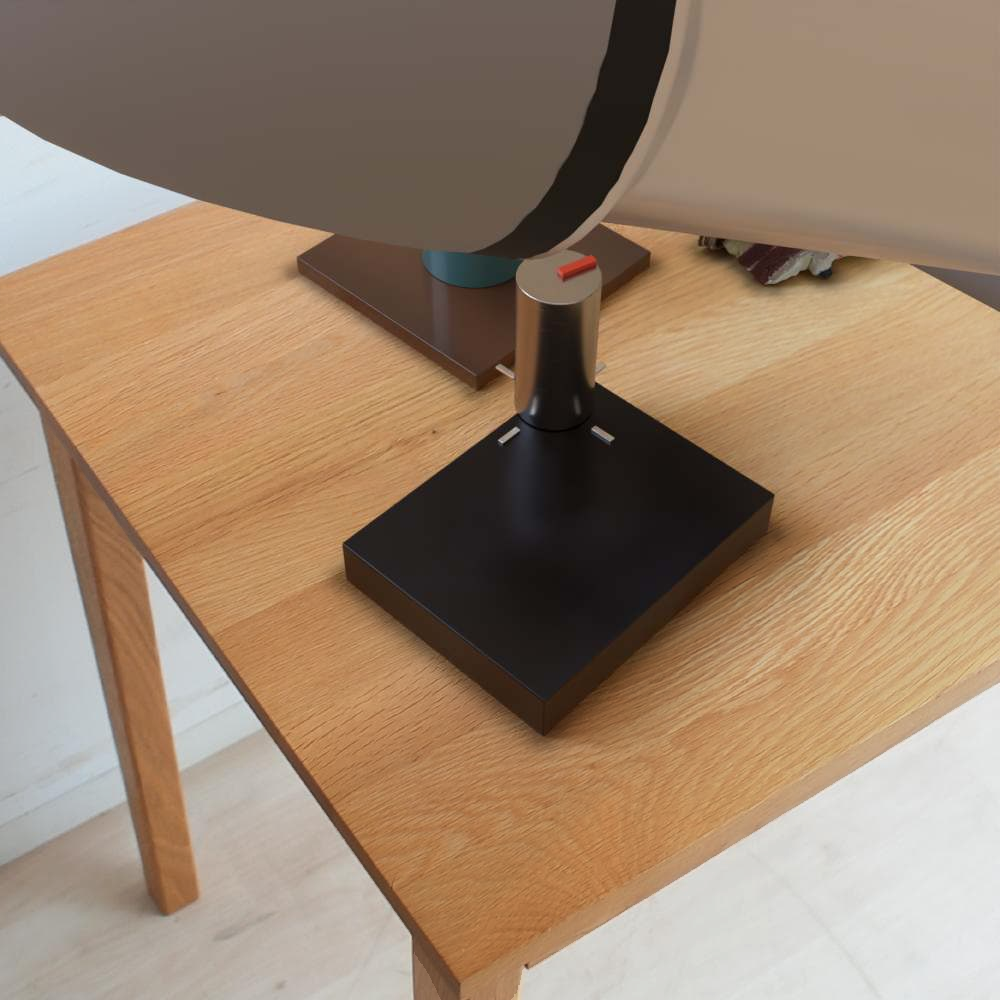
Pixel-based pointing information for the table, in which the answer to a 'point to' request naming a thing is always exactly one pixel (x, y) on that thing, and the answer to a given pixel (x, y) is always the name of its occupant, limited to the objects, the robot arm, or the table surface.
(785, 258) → the chocolate cake
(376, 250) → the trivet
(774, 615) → the table surface
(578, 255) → the knob
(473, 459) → the hob
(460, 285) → the pot
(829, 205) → the robot arm
